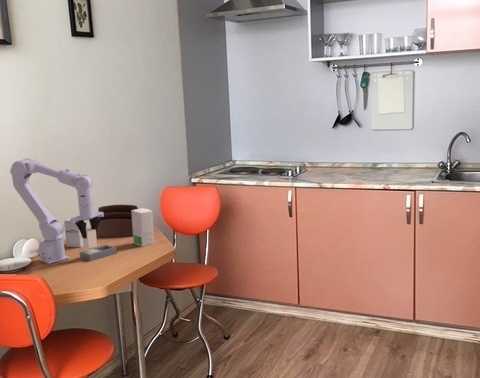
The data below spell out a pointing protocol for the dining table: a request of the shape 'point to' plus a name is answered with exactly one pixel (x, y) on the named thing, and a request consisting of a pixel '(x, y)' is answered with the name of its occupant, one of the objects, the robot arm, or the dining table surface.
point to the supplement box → (73, 234)
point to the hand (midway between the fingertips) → (89, 236)
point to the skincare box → (142, 227)
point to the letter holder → (115, 221)
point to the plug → (90, 238)
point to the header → (98, 252)
